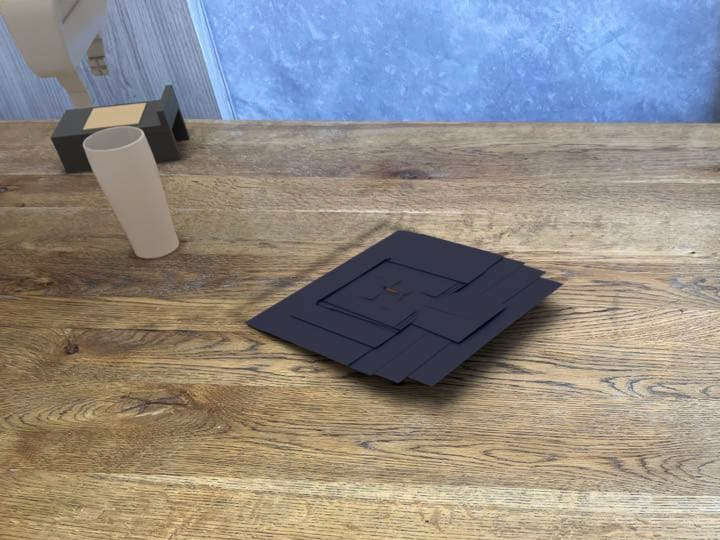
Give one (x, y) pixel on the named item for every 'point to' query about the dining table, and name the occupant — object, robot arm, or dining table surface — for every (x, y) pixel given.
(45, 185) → the dining table surface
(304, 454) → the dining table surface
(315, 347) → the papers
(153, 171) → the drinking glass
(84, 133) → the dark box with label
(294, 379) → the dining table surface
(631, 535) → the dining table surface
